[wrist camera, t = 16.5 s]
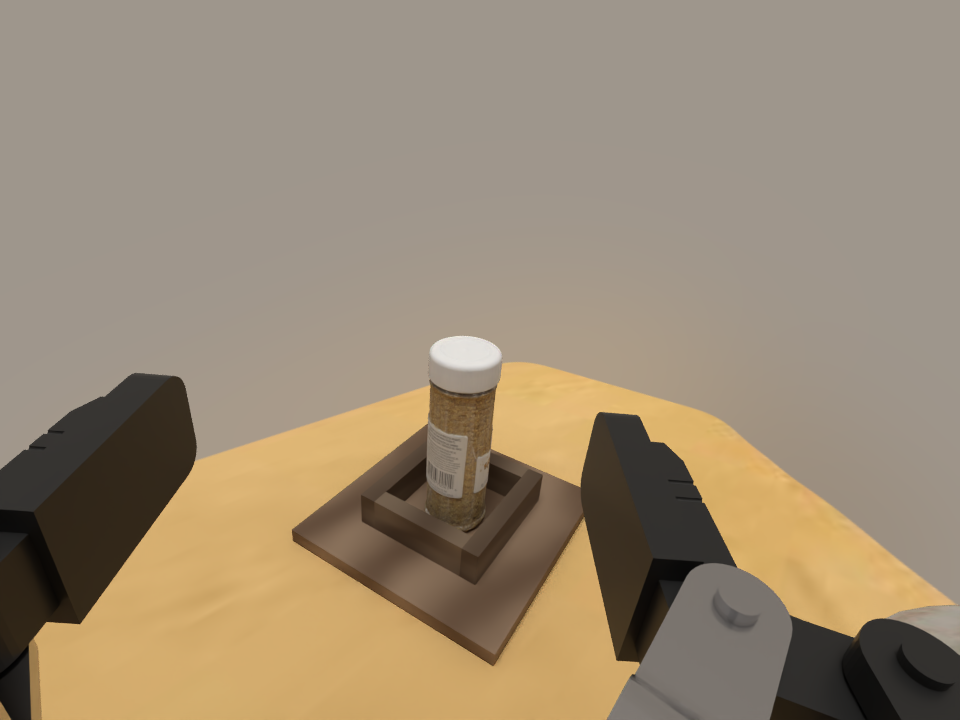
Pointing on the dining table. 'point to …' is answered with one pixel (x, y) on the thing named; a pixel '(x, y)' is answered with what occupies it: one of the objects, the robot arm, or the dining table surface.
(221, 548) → the dining table surface
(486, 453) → the spice jar
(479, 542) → the walnut stand
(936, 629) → the ceramic pitcher
